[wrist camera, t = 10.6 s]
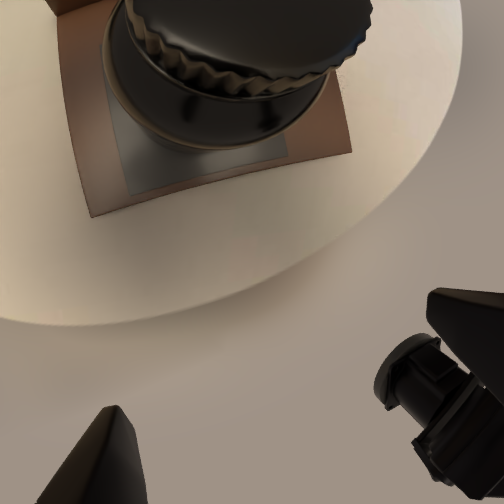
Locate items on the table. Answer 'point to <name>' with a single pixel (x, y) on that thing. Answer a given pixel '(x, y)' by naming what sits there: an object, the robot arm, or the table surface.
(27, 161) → the table surface
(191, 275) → the table surface
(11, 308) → the table surface
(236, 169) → the shelf
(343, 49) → the supplement bottle
